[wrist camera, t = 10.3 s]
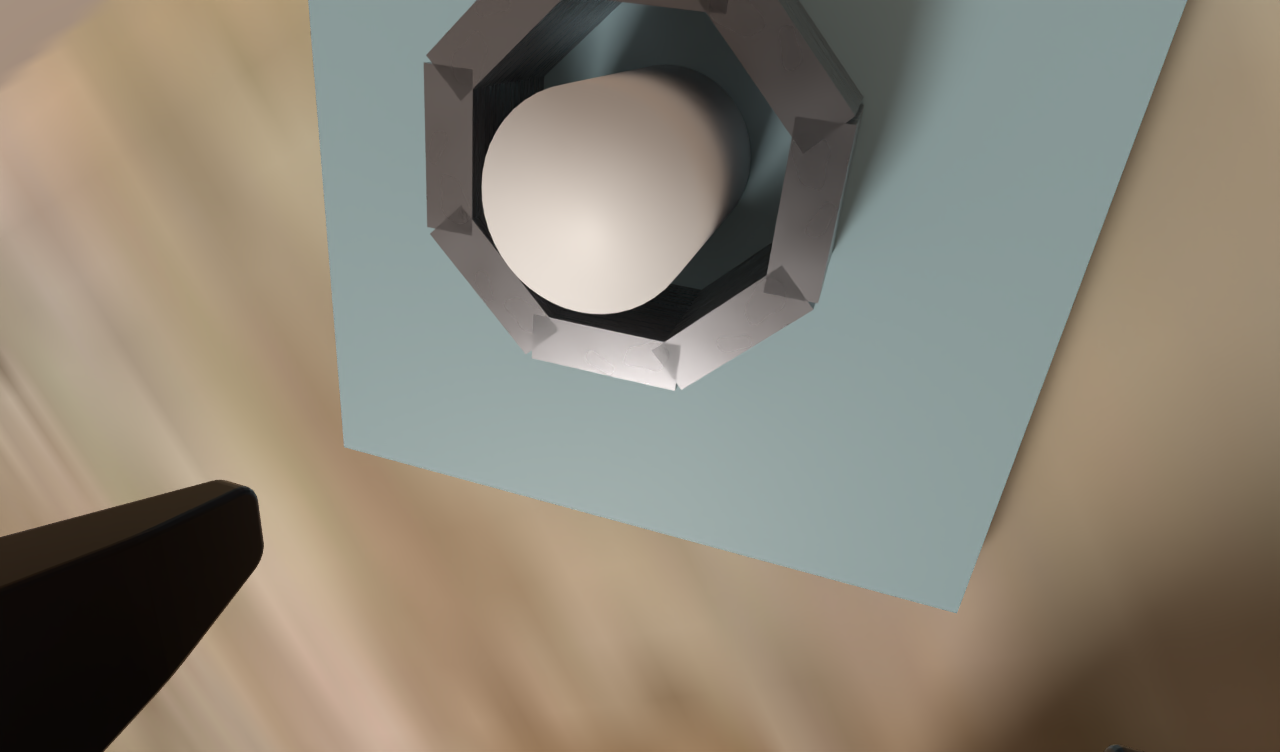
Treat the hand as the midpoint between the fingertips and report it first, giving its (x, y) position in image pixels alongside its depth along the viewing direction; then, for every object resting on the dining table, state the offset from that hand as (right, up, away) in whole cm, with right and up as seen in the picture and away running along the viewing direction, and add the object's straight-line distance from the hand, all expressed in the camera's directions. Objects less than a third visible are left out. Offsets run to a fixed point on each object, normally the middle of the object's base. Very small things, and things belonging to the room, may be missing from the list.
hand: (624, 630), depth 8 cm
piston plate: (+1, +8, +9) cm, 12 cm away
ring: (+1, +7, +7) cm, 10 cm away
